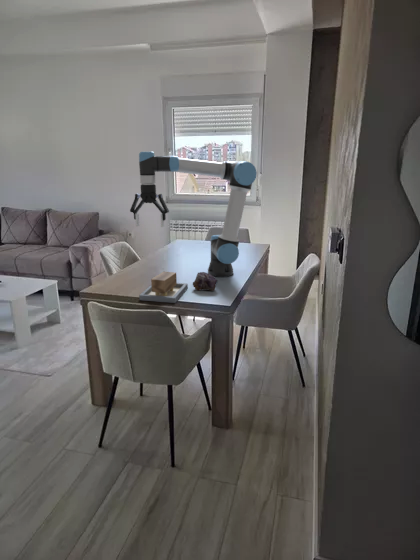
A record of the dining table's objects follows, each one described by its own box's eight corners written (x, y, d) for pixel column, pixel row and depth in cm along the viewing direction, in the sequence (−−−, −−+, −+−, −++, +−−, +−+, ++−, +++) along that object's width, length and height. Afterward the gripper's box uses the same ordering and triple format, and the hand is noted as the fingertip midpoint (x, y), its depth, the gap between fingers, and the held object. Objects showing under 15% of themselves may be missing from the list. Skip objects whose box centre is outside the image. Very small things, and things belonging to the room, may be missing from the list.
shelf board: (176, 284, 196) (176, 272, 194) (164, 293, 184) (164, 280, 182) (164, 283, 198) (163, 271, 196) (151, 291, 186) (151, 279, 184)
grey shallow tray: (187, 288, 200) (187, 282, 199) (175, 302, 180) (175, 296, 179) (155, 285, 204) (155, 280, 203) (139, 300, 183) (139, 294, 182)
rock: (211, 295, 193) (218, 288, 202) (214, 280, 190) (220, 274, 199) (190, 289, 196) (197, 283, 205) (192, 274, 193) (199, 268, 202)
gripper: (174, 183, 191) (175, 225, 197) (127, 183, 196) (130, 224, 202) (169, 184, 184) (170, 228, 190) (121, 184, 189) (124, 226, 195)
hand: (150, 226), depth 196 cm, fingers open, 13 cm apart
